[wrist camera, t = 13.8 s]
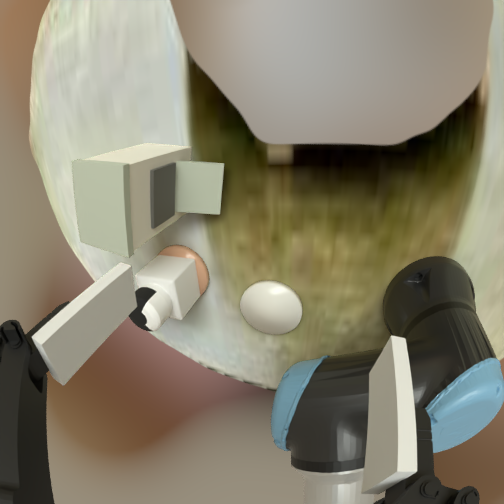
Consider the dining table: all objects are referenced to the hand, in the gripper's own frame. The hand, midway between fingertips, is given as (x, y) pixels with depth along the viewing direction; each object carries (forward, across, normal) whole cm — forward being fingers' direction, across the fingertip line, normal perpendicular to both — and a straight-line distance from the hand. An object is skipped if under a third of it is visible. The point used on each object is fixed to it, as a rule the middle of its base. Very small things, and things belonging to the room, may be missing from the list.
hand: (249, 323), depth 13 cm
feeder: (+27, +18, +2) cm, 32 cm away
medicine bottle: (+26, +18, +18) cm, 36 cm away
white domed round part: (+27, +2, +20) cm, 33 cm away
